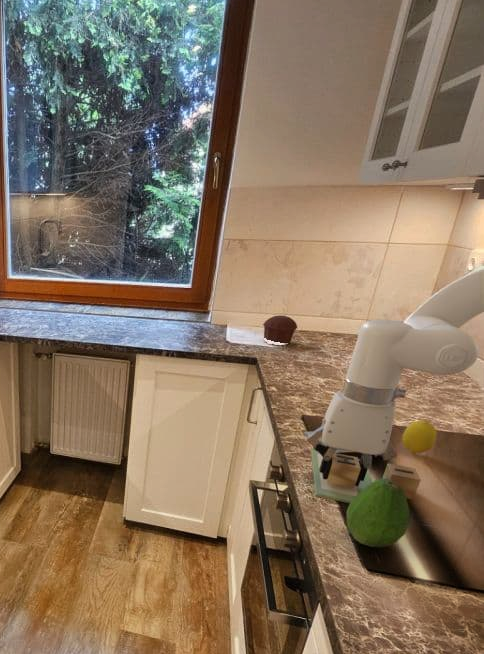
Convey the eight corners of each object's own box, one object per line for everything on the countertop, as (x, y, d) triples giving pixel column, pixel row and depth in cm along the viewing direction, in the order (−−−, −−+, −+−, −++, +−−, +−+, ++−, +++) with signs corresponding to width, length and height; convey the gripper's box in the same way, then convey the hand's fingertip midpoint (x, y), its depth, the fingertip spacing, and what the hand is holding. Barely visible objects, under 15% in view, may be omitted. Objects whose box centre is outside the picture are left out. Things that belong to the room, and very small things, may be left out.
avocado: (343, 550, 75) (365, 487, 70) (336, 522, 81) (356, 462, 76) (403, 565, 72) (430, 500, 67) (391, 534, 78) (415, 473, 73)
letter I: (407, 487, 91) (415, 467, 89) (412, 499, 87) (421, 479, 85) (380, 482, 93) (387, 462, 91) (384, 493, 89) (392, 473, 87)
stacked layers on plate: (302, 432, 112) (308, 411, 110) (338, 430, 113) (344, 409, 110) (329, 453, 103) (336, 430, 101) (368, 451, 103) (375, 429, 101)
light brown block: (351, 476, 91) (358, 456, 89) (354, 488, 88) (361, 467, 86) (325, 471, 93) (331, 451, 91) (327, 482, 89) (333, 462, 87)
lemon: (435, 458, 101) (449, 425, 97) (413, 461, 100) (426, 427, 96) (412, 446, 105) (424, 414, 102) (391, 448, 105) (402, 416, 101)
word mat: (364, 462, 99) (365, 459, 99) (378, 509, 84) (379, 506, 84) (311, 452, 103) (311, 449, 103) (315, 495, 88) (316, 492, 88)
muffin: (283, 338, 184) (289, 312, 179) (299, 346, 174) (306, 320, 169) (254, 338, 183) (259, 313, 179) (268, 347, 173) (274, 320, 169)
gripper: (421, 392, 82) (388, 480, 90) (312, 377, 89) (290, 460, 97) (432, 408, 76) (396, 501, 84) (314, 390, 83) (290, 478, 90)
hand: (339, 478), depth 90 cm, fingers closed on light brown block, 4 cm apart
